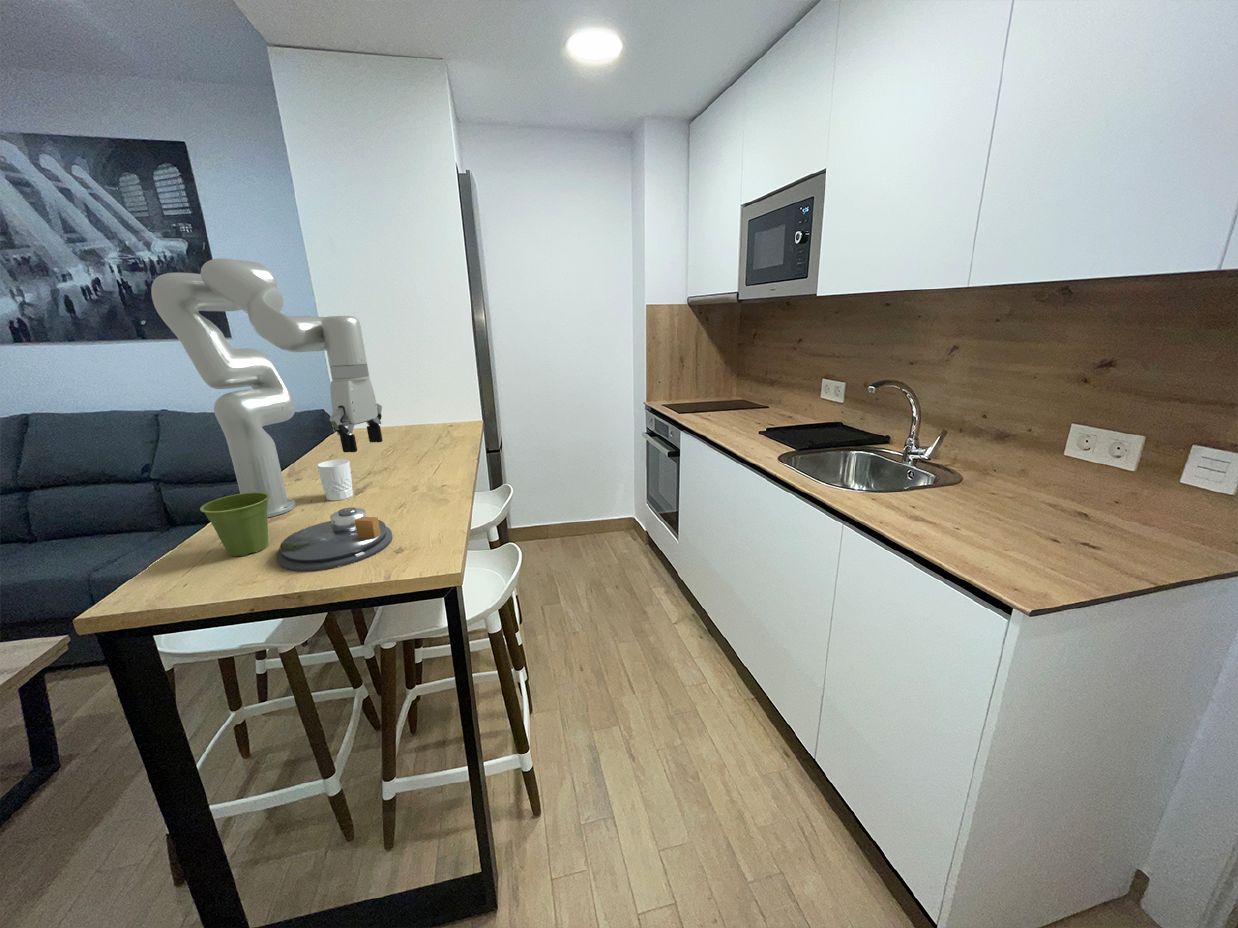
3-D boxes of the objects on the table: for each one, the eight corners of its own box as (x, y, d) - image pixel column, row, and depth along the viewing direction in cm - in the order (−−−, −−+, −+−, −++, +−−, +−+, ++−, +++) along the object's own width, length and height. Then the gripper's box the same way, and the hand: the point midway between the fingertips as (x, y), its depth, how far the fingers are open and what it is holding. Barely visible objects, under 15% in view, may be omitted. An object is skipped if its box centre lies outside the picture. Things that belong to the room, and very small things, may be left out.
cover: (325, 531, 109) (321, 515, 107) (346, 519, 115) (343, 504, 114) (354, 532, 108) (351, 516, 107) (373, 520, 114) (371, 505, 113)
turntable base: (249, 568, 98) (248, 562, 98) (326, 525, 119) (325, 520, 119) (351, 573, 95) (350, 567, 95) (411, 528, 116) (410, 523, 116)
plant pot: (223, 544, 110) (210, 497, 107) (285, 534, 114) (275, 488, 111) (204, 567, 100) (190, 515, 96) (274, 555, 104) (262, 505, 101)
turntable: (257, 560, 99) (250, 535, 97) (326, 522, 118) (321, 500, 116) (348, 564, 96) (343, 538, 95) (404, 524, 115) (400, 502, 114)
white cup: (361, 492, 143) (355, 459, 140) (344, 501, 136) (337, 467, 133) (335, 492, 144) (329, 459, 141) (317, 501, 136) (310, 466, 134)
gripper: (358, 370, 120) (371, 438, 124) (307, 377, 103) (323, 456, 108) (387, 369, 119) (399, 438, 123) (339, 376, 102) (355, 456, 107)
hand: (363, 446), depth 116 cm, fingers open, 9 cm apart
